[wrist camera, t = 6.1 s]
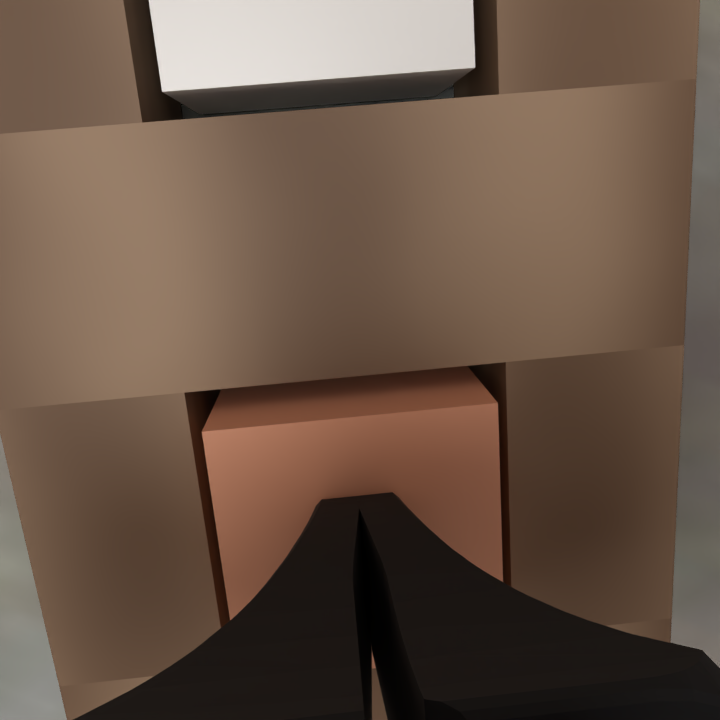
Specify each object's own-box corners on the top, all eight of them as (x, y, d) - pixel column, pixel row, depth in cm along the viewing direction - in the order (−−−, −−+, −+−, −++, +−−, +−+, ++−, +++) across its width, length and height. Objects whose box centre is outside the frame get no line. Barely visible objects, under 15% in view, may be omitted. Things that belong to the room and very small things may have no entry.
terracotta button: (454, 351, 14) (497, 402, 11) (464, 551, 16) (505, 653, 12) (229, 372, 14) (201, 431, 11) (256, 573, 15) (239, 683, 12)
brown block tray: (610, -322, 12) (723, -514, 9) (598, 590, 17) (667, 689, 14) (-61, -286, 12) (-213, -474, 8) (124, 641, 17) (76, 758, 13)
